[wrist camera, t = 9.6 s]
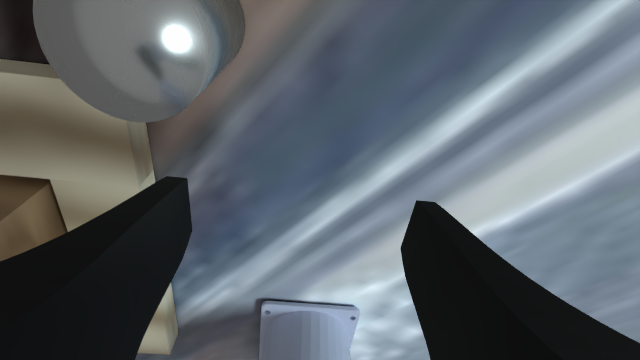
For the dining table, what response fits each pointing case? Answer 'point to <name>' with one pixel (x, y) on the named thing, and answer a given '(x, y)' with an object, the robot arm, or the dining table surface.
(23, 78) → the slot board
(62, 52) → the metal round peg
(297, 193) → the dining table surface
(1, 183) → the walnut flat peg
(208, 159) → the dining table surface
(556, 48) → the dining table surface
